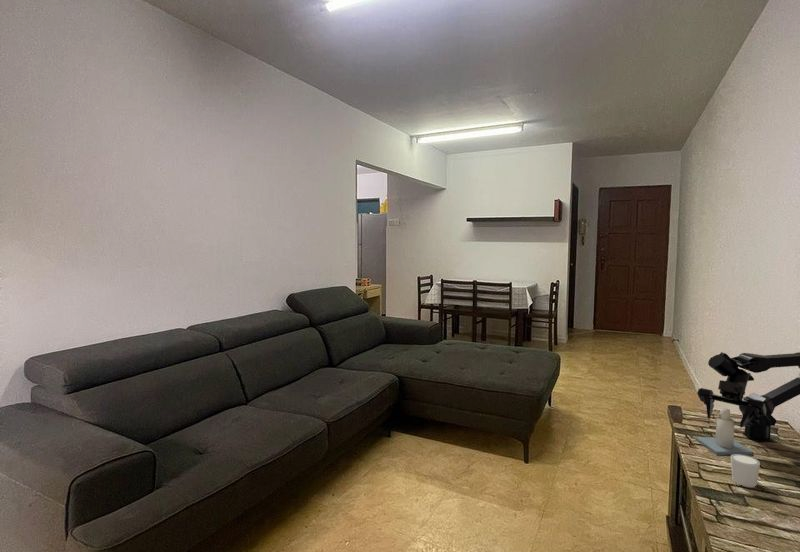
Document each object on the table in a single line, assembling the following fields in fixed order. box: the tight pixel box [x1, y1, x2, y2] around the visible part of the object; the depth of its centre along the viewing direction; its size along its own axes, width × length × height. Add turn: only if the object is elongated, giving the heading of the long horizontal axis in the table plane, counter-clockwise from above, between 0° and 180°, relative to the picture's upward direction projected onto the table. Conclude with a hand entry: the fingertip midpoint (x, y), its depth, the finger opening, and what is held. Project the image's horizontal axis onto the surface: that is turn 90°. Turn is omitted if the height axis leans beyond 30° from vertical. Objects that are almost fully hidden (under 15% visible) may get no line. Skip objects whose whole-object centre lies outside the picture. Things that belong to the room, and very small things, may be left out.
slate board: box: [695, 436, 754, 456], centre depth 149 cm, size 12×11×1 cm
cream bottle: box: [715, 407, 735, 448], centre depth 148 cm, size 5×5×12 cm
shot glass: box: [730, 454, 761, 488], centre depth 127 cm, size 7×7×7 cm
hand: (724, 422), depth 147 cm, fingers open, 9 cm apart
